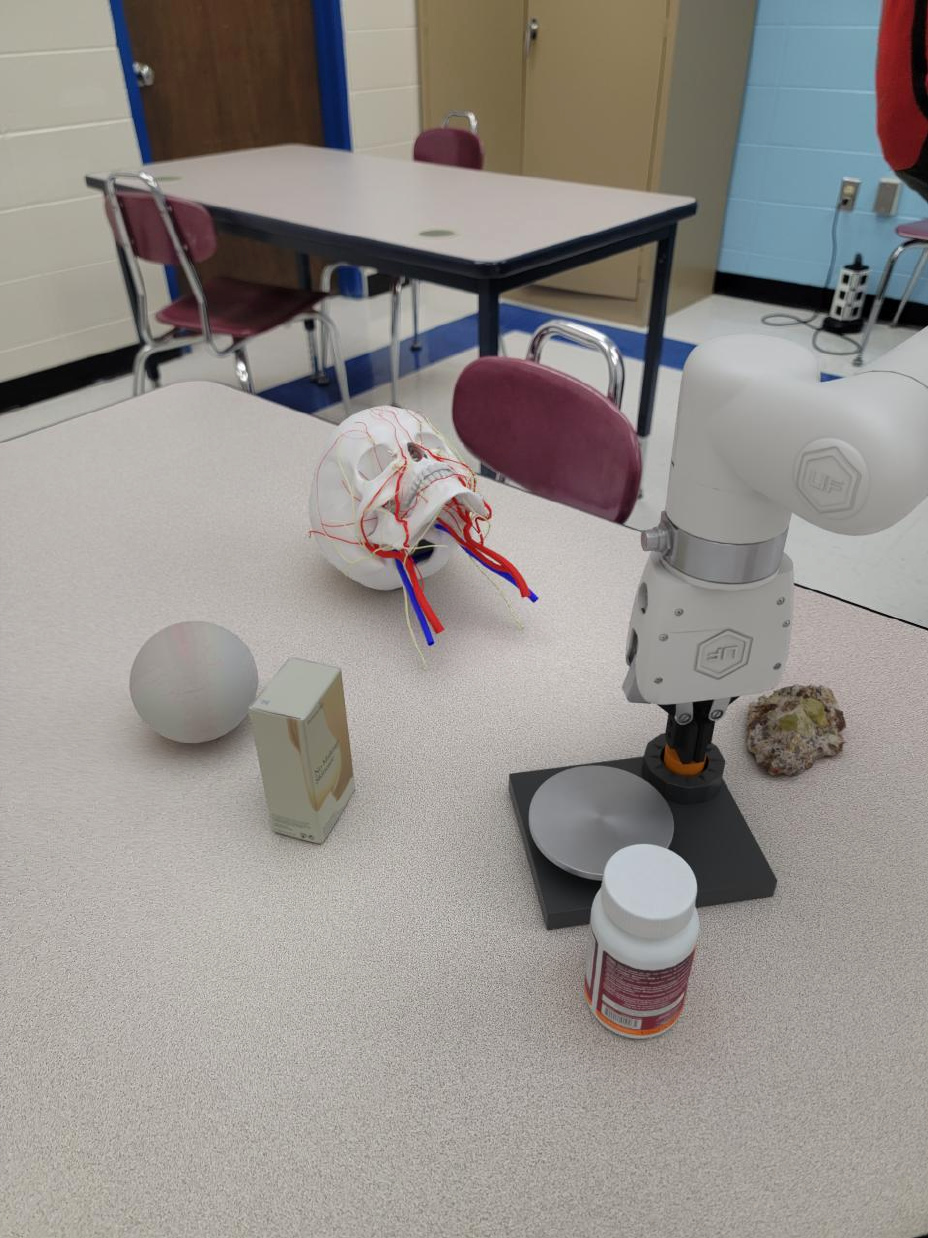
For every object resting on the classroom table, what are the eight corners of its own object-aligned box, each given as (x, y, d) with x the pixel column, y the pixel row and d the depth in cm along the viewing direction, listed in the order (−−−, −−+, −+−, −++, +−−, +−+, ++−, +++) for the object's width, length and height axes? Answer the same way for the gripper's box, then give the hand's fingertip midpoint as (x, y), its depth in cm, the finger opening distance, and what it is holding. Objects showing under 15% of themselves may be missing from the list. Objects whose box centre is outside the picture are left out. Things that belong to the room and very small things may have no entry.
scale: (701, 759, 73) (707, 727, 71) (773, 896, 62) (783, 863, 60) (507, 784, 71) (507, 752, 69) (546, 930, 60) (548, 897, 58)
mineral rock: (765, 663, 79) (861, 676, 74) (771, 703, 81) (864, 719, 76) (714, 735, 72) (816, 756, 67) (721, 778, 74) (820, 801, 69)
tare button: (694, 751, 70) (697, 734, 69) (709, 779, 68) (712, 762, 67) (657, 756, 70) (660, 739, 69) (670, 784, 67) (673, 767, 66)
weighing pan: (646, 763, 68) (646, 757, 67) (694, 869, 60) (695, 864, 59) (515, 780, 67) (515, 774, 66) (546, 891, 59) (547, 885, 58)
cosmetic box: (322, 847, 66) (302, 723, 59) (270, 833, 67) (243, 710, 60) (358, 785, 71) (343, 664, 64) (309, 773, 72) (289, 653, 65)
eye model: (138, 706, 79) (110, 613, 73) (253, 677, 82) (235, 586, 76) (151, 783, 72) (121, 687, 66) (277, 748, 75) (259, 653, 69)
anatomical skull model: (416, 560, 70) (276, 398, 84) (404, 710, 83) (285, 550, 97) (577, 501, 77) (424, 361, 91) (543, 648, 91) (414, 507, 104)
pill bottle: (703, 1017, 55) (732, 901, 48) (617, 1060, 53) (635, 945, 46) (645, 938, 60) (665, 822, 53) (564, 974, 58) (574, 858, 51)
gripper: (625, 584, 53) (603, 800, 64) (863, 558, 55) (803, 773, 65) (591, 521, 59) (576, 729, 70) (806, 500, 61) (759, 706, 72)
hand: (686, 750), depth 68 cm, fingers closed
